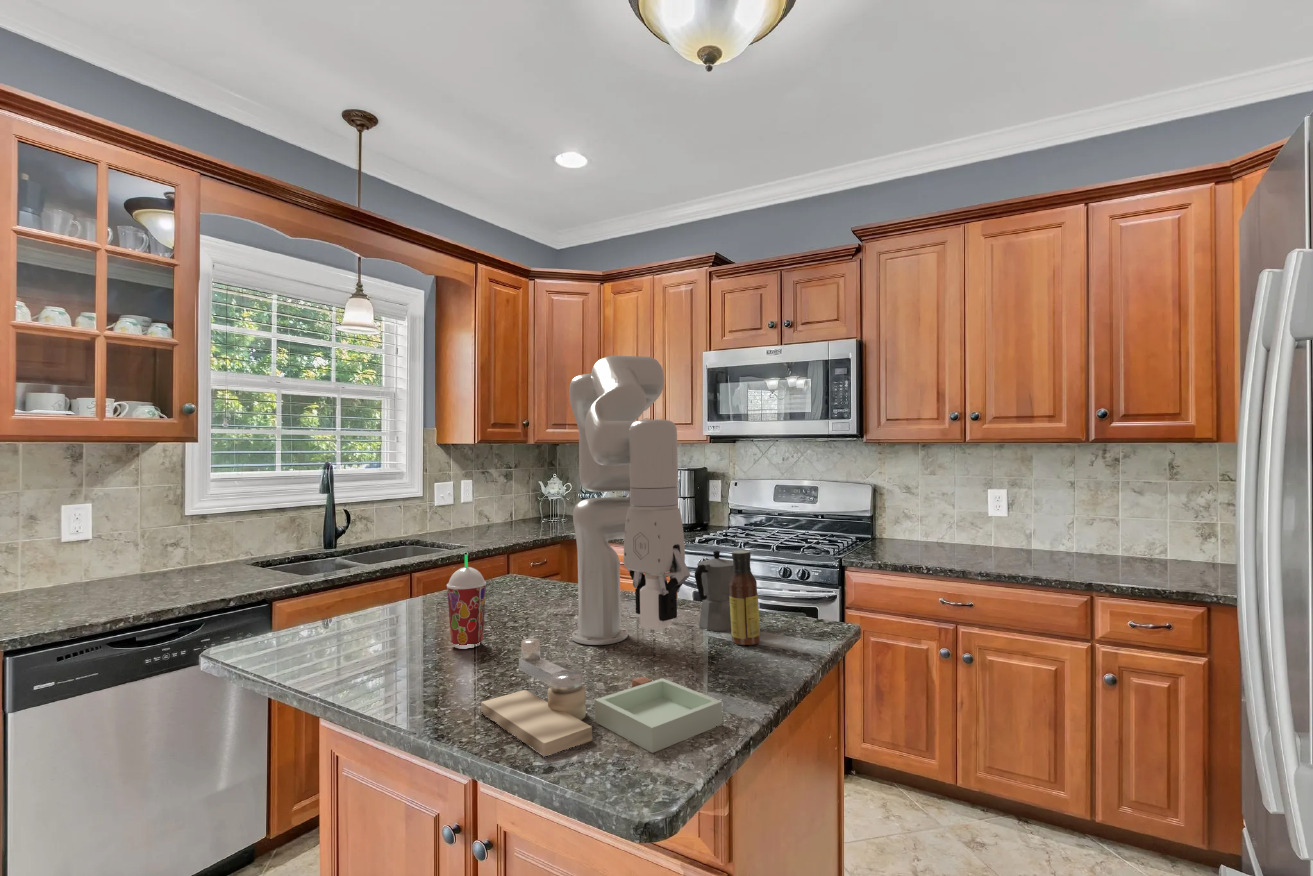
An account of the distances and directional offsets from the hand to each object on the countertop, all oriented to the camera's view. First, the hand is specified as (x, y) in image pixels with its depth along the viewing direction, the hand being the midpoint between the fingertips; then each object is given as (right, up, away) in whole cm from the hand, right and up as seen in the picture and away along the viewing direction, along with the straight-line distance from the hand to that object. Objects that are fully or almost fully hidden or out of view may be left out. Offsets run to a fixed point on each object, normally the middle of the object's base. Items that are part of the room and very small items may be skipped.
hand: (656, 614), depth 101 cm
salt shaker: (0, -2, 0) cm, 2 cm away
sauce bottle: (+19, -17, +41) cm, 48 cm away
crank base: (-12, -17, +5) cm, 21 cm away
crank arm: (-18, -13, +7) cm, 23 cm away
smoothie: (-42, -18, +42) cm, 62 cm away
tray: (0, -17, 0) cm, 17 cm away
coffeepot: (+14, -18, +53) cm, 58 cm away
